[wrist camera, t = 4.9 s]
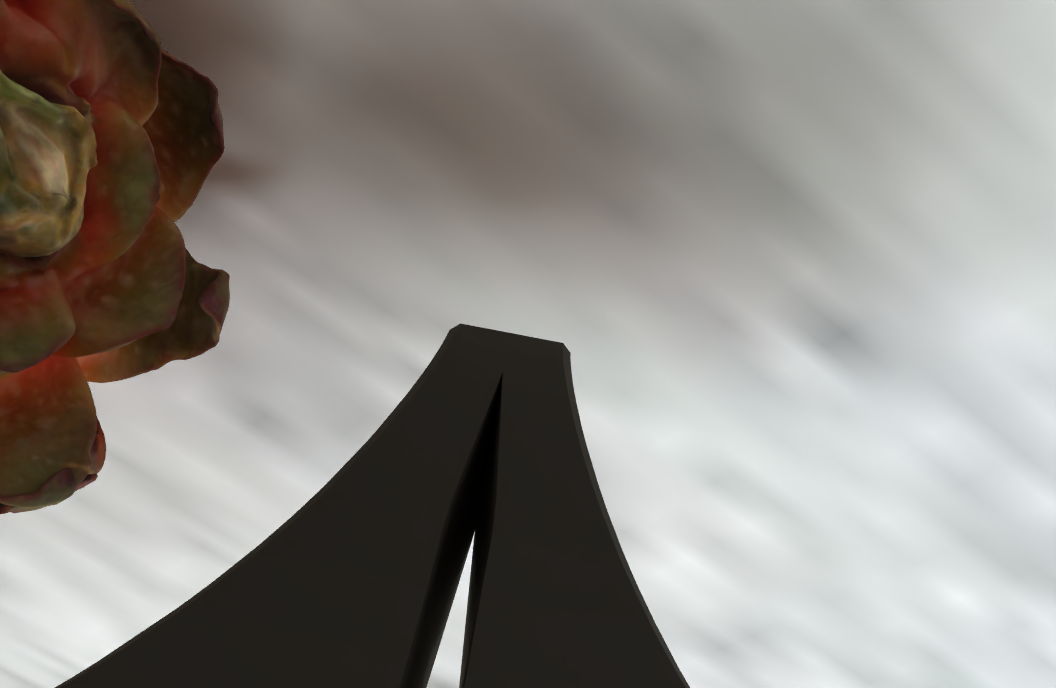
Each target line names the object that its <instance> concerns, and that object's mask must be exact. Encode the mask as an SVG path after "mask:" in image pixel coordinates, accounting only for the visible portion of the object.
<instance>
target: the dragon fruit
mask: <svg viewBox="0 0 1056 688" xmlns="http://www.w3.org/2000/svg"><path fill="white" fill-rule="evenodd" d="M223 152H224V138H223V119H222V115H221V111H220V107H219V104H218V90H217V88H216V86H215V85H214V84H213V82H212V81H211V80H210V79H209V78H208V77H205V76H203V75H201V74H199V73H198V72H197V71H196V70H195V69H193V68H192V67H190V66H189V65H187V64H185V63H183V62H181V61H178V60H177V59H176V58H174V57H173V56H172V55H170V54H169V53H168V52H166V51H165V50H163V49H162V47H161V44H160V40H159V37H158V35H157V34H156V33H155V31H154V30H153V29H152V27H151V26H150V25H149V23H148V22H147V21H146V20H145V19H144V18H143V17H142V16H141V14H140V13H139V11H138V10H137V9H136V7H135V6H134V5H133V4H132V3H131V2H130V0H0V514H5V513H8V512H12V513H18V512H25V511H32V510H37V509H40V508H43V507H46V506H50V505H55V504H58V503H60V502H62V501H63V500H65V499H67V498H68V497H70V496H71V495H72V494H73V493H74V492H75V491H77V490H78V489H81V488H83V487H85V486H86V485H88V484H89V483H91V482H93V481H95V480H96V478H97V477H98V476H97V473H98V472H99V471H100V470H101V468H102V467H103V464H104V460H105V453H106V444H105V437H104V433H103V431H102V428H101V426H100V423H99V420H98V418H97V416H96V408H95V406H94V402H93V398H92V394H91V391H90V388H89V385H88V383H87V381H90V382H98V383H105V382H113V381H118V380H123V379H127V378H131V377H134V376H137V375H139V374H142V373H146V372H149V371H151V370H156V369H159V368H160V367H162V366H163V365H165V364H166V363H168V362H170V361H173V360H187V359H190V358H192V357H196V356H198V355H201V354H203V353H204V352H206V351H207V350H209V349H211V348H213V347H215V346H216V345H217V343H218V342H219V335H220V332H221V330H222V326H223V322H224V319H225V316H226V313H227V311H228V307H229V299H230V294H229V274H228V273H226V272H225V271H223V270H219V269H218V270H217V269H211V268H209V267H207V266H205V265H203V264H200V263H198V262H196V261H195V260H194V259H193V258H192V256H191V255H190V253H189V252H188V251H187V249H186V248H185V245H184V240H183V237H182V235H181V232H180V230H179V229H178V227H177V226H176V224H175V223H174V222H175V221H177V220H178V219H180V218H181V217H182V216H183V215H184V214H185V212H186V211H187V209H188V208H189V207H190V206H191V205H192V204H193V202H194V200H195V198H196V197H197V195H198V193H199V191H200V189H201V188H202V185H203V183H204V181H205V179H206V177H207V175H208V174H209V172H210V170H211V168H212V167H213V165H214V164H215V163H216V162H217V161H218V160H219V159H220V157H221V156H222V154H223Z"/></svg>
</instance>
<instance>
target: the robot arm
mask: <svg viewBox="0 0 1056 688" xmlns="http://www.w3.org/2000/svg"><path fill="white" fill-rule="evenodd" d="M474 532H475V535H474ZM473 535H474V545H473V555H472V565H471V575H470V585H469V595H468V605H467V615H466V625H465V635H464V645H463V655H462V665H461V676H460V686H459V688H690V687H689V685H688V683H687V682H686V680H685V678H684V677H683V675H682V673H681V671H680V670H679V668H678V666H677V664H676V662H675V660H674V658H673V656H672V655H671V653H670V651H669V649H668V647H667V645H666V643H665V641H664V639H663V637H662V635H661V633H660V631H659V630H658V628H657V626H656V624H655V622H654V620H653V618H652V615H651V613H650V611H649V609H648V607H647V605H646V603H645V601H644V599H643V596H642V594H641V592H640V590H639V588H638V586H637V584H636V581H635V579H634V577H633V574H632V572H631V570H630V568H629V565H628V563H627V560H626V558H625V556H624V553H623V551H622V548H621V546H620V543H619V541H618V538H617V535H616V533H615V530H614V528H613V525H612V522H611V520H610V517H609V514H608V512H607V509H606V506H605V503H604V500H603V497H602V494H601V491H600V489H599V485H598V482H597V479H596V475H595V472H594V469H593V466H592V462H591V459H590V456H589V452H588V449H587V446H586V442H585V438H584V434H583V430H582V426H581V422H580V417H579V413H578V409H577V404H576V399H575V393H574V388H573V381H572V373H571V362H570V352H569V350H568V349H567V348H566V346H565V345H564V344H563V343H560V342H554V341H549V340H544V339H539V338H533V337H528V336H523V335H518V334H512V333H507V332H502V331H497V330H491V329H486V328H481V327H476V326H470V325H465V324H459V325H457V326H456V327H454V328H452V329H450V331H449V333H448V334H447V336H446V338H445V340H444V342H443V344H442V345H441V347H440V348H439V350H438V352H437V353H436V355H435V356H434V358H433V359H432V361H431V362H430V364H429V365H428V367H427V368H426V369H425V371H424V372H423V374H422V375H421V376H420V378H419V379H418V380H417V382H416V383H415V384H414V386H413V387H412V388H411V390H410V391H409V392H408V394H407V395H406V396H405V397H404V398H403V400H402V401H401V402H400V403H399V404H398V406H397V407H396V408H395V409H394V410H393V412H392V413H391V414H390V415H389V416H388V418H387V419H386V420H385V421H384V422H383V424H382V425H381V426H380V427H379V428H378V430H377V431H376V432H375V433H374V434H373V435H372V437H371V438H370V439H369V440H368V441H367V442H366V443H365V444H364V445H363V446H362V447H361V448H360V449H359V450H358V452H357V453H356V454H355V455H354V456H353V457H352V458H351V459H350V460H349V461H348V462H347V463H346V464H345V465H344V466H343V467H342V468H341V469H340V470H339V471H338V472H337V473H336V474H335V476H334V477H333V478H332V479H331V480H330V481H329V482H328V483H327V484H326V485H325V486H324V487H323V488H322V489H321V490H320V491H319V492H318V493H317V494H315V495H314V496H313V497H312V498H311V499H310V500H309V501H308V502H307V503H306V504H305V505H304V506H303V507H302V508H301V509H300V510H298V511H297V512H296V513H295V514H294V515H293V516H292V517H291V518H290V519H289V520H287V521H286V522H285V523H284V524H283V525H282V526H281V527H279V528H278V529H277V530H276V531H275V532H274V533H273V534H271V535H270V536H269V537H268V538H267V539H266V540H264V541H263V542H262V543H261V544H260V545H259V546H257V547H256V548H255V549H254V550H252V551H251V552H250V553H249V554H247V555H246V556H245V557H244V558H242V559H241V560H240V561H238V562H237V563H236V564H235V565H233V566H232V567H231V568H230V569H228V570H227V571H226V572H225V573H223V574H222V575H221V576H220V577H218V578H217V579H216V580H215V581H213V582H212V583H211V584H209V585H208V586H207V587H205V588H204V589H203V590H201V591H200V592H199V593H197V594H196V595H195V596H193V597H192V598H191V599H189V600H188V601H186V602H185V603H184V604H182V605H181V606H180V607H178V608H177V609H175V610H174V611H172V612H171V613H169V614H168V615H166V616H165V617H163V618H162V619H160V620H159V621H157V622H156V623H154V624H153V625H152V626H150V627H149V628H147V629H146V630H144V631H143V632H141V633H140V634H138V635H137V636H135V637H134V638H132V639H131V640H129V641H128V642H126V643H125V644H123V645H122V646H120V647H119V648H117V649H116V650H114V651H113V652H111V653H110V654H108V655H107V656H105V657H104V658H102V659H101V660H99V661H98V662H96V663H95V664H93V665H91V666H90V667H88V668H87V669H85V670H83V671H82V672H80V673H79V674H77V675H75V676H74V677H72V678H71V679H69V680H67V681H65V682H64V683H62V684H60V685H58V686H57V687H55V688H426V687H427V684H428V681H429V677H430V674H431V671H432V668H433V664H434V661H435V658H436V655H437V652H438V648H439V645H440V642H441V639H442V635H443V632H444V629H445V626H446V622H447V619H448V616H449V613H450V610H451V606H452V603H453V600H454V597H455V593H456V590H457V587H458V584H459V581H460V577H461V574H462V571H463V568H464V564H465V561H466V558H467V555H468V551H469V548H470V545H471V542H472V538H473Z"/></svg>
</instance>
